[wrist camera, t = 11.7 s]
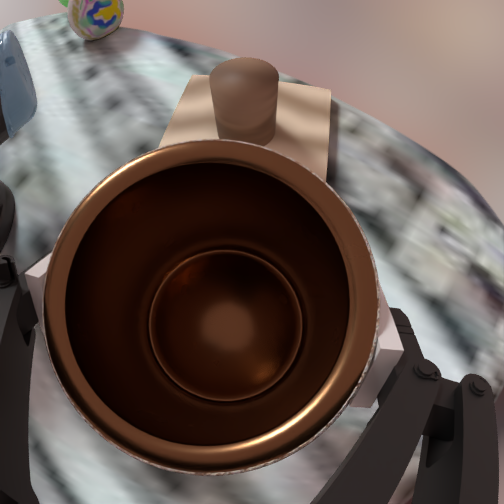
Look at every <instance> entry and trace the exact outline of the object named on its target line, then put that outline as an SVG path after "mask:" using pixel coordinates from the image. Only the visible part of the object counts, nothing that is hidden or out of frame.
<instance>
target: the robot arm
mask: <svg viewBox="0 0 504 504" xmlns="http://www.w3.org/2000/svg"><path fill="white" fill-rule="evenodd" d="M36 109H37V97H36V92H35V88H34V84H33V81H32V77H31V74H30V71H29V68H28V65H27V62H26V59H25V56H24V54H23V51H22V49H21V46H20V44H19V42H18V39H17V38H16V36H15V35H14V33H13V32H12V31H11V30H8V31H6V32H2V33H1V34H0V145H1V144H2V143H3V142H5V141H6V140H7V139H8V138H9V137H10V138H12V137H13V136H14V134H15V133H16V132H17V131H18V130H19V129H20V128H21V127H23V126H24V125H25V124H26V123H27V122H29V121H30V120H31V119H32V118H33V116H34V114H35V112H36ZM13 215H14V198H13V194H12V192H11V190H10V189H9V188H8V187H7V186H6V185H5V184H4V183H3V182H2V181H0V251H1V250H2V248H3V246H4V244H5V242H6V239H7V237H8V234H9V231H10V228H11V225H12V220H13ZM52 251H53V250H52ZM52 251H50V252H48V253H47V254H46V255H44V256H43V257H42V259H39V260H38V261H36V263H34V264H32V265H31V266H30V267H28V268H27V269H26V270H25V271H23V272H22V273H21V274H20V275H18V274H17V270H16V266H15V262H14V259H13V257H11V256H9V255H3V256H0V504H39V501H38V498H37V496H36V494H35V492H34V491H33V489H32V486H31V481H30V468H29V446H28V415H29V393H30V379H31V368H32V359H33V351H34V343H35V336H36V334H35V329H34V326H35V324H36V323H37V322H39V325H40V328H41V330H42V333H43V334H44V331H43V321H42V297H43V287H44V280H45V275H46V271H47V266H48V263H49V260H50V256H51V253H52ZM379 287H380V323H379V331H378V337H377V342H376V346H375V350H374V353H373V357H372V360H371V362H370V365H369V368H368V370H367V373H366V375H365V377H364V379H363V381H362V383H361V385H360V387H359V389H358V390H357V392H356V394H355V395H354V397H353V399H352V400H351V401H350V407H365V408H371V406H372V405H373V403H374V402H375V400H376V398H377V399H378V405H379V408H378V409H377V411H376V412H375V414H374V415H373V416H372V418H371V419H370V421H369V422H368V424H367V425H366V426H367V427H366V428H365V430H364V431H363V433H362V434H361V436H360V437H359V439H358V440H357V442H356V443H355V445H354V446H353V448H352V449H351V451H350V452H349V454H348V455H347V456H346V458H345V459H344V461H343V462H342V463H341V465H340V466H339V468H338V469H337V470H336V472H335V473H334V474H333V476H332V477H331V478H330V479H329V481H328V482H327V483H326V485H325V486H324V487H323V488H322V490H321V491H320V492H319V493H318V495H317V496H316V497H315V498H314V499H313V501H312V502H311V503H310V504H388V502H389V500H390V498H391V497H392V495H393V493H394V491H395V489H396V487H397V486H398V484H399V482H400V480H401V478H402V476H403V474H404V472H405V470H406V468H407V466H408V464H409V462H410V460H411V457H412V455H413V453H414V451H415V449H416V446H417V444H418V442H419V439H420V437H421V435H423V441H422V448H421V455H420V462H419V468H418V474H417V479H416V485H415V490H414V494H413V499H412V504H498V489H499V458H498V437H497V425H496V415H495V406H494V399H493V392H492V389H491V386H490V385H489V383H488V382H487V381H486V380H485V379H484V378H483V377H481V376H479V375H476V374H468V375H465V376H464V378H463V379H462V380H461V382H460V383H458V382H454V381H451V380H448V379H445V378H442V377H441V373H440V370H439V369H438V367H437V366H436V365H435V364H434V363H432V362H431V361H429V360H427V359H424V357H423V354H422V352H421V349H420V346H419V344H418V341H417V339H416V336H415V335H414V331H413V329H412V328H411V324H410V322H409V319H408V317H407V316H406V315H405V314H404V313H403V312H402V311H401V309H398V308H390V307H389V306H388V304H387V301H386V299H385V296H384V293H383V291H382V288H381V286H380V283H379Z"/></svg>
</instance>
